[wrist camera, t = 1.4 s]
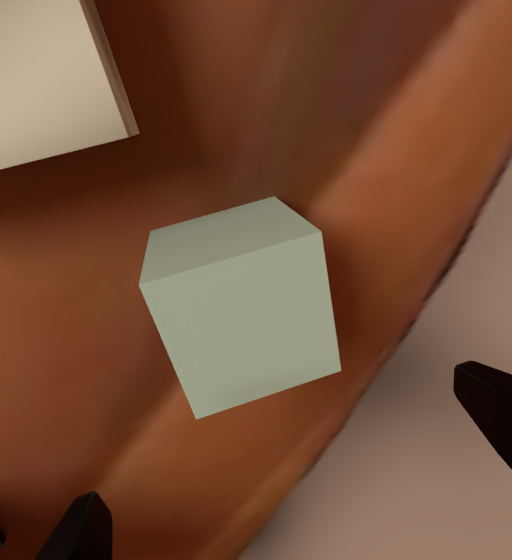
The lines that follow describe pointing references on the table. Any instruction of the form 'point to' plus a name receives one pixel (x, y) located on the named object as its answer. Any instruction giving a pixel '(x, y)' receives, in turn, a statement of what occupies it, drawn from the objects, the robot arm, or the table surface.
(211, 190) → the table surface
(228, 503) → the table surface
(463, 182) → the table surface
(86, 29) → the beige square block
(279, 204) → the green cube
